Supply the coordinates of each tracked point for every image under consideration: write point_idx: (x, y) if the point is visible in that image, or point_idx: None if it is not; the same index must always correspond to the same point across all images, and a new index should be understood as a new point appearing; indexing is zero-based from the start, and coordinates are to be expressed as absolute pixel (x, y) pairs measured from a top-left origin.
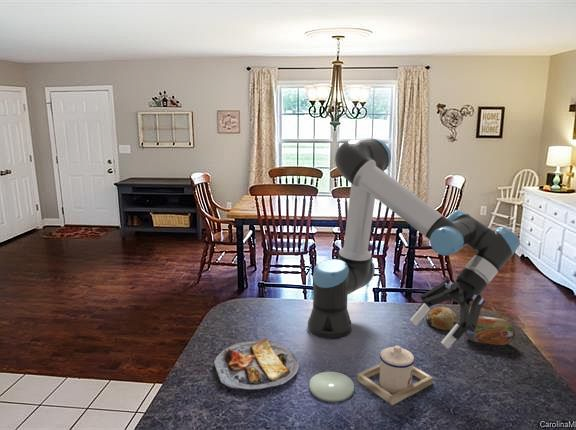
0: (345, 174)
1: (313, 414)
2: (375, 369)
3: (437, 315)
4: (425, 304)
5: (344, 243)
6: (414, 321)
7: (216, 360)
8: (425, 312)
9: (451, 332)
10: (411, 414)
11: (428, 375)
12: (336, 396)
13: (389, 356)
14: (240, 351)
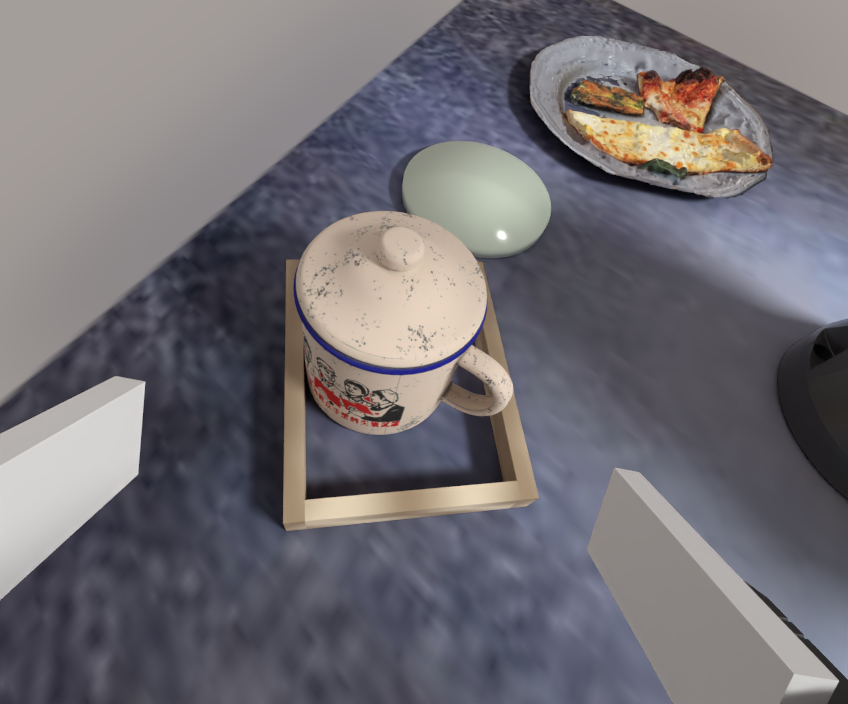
0: None
1: (392, 112)
2: (484, 340)
3: None
4: (783, 669)
5: None
6: (611, 511)
7: (682, 61)
8: (683, 676)
9: (2, 440)
10: (206, 296)
11: (311, 515)
12: (416, 167)
13: (392, 222)
14: (722, 119)
